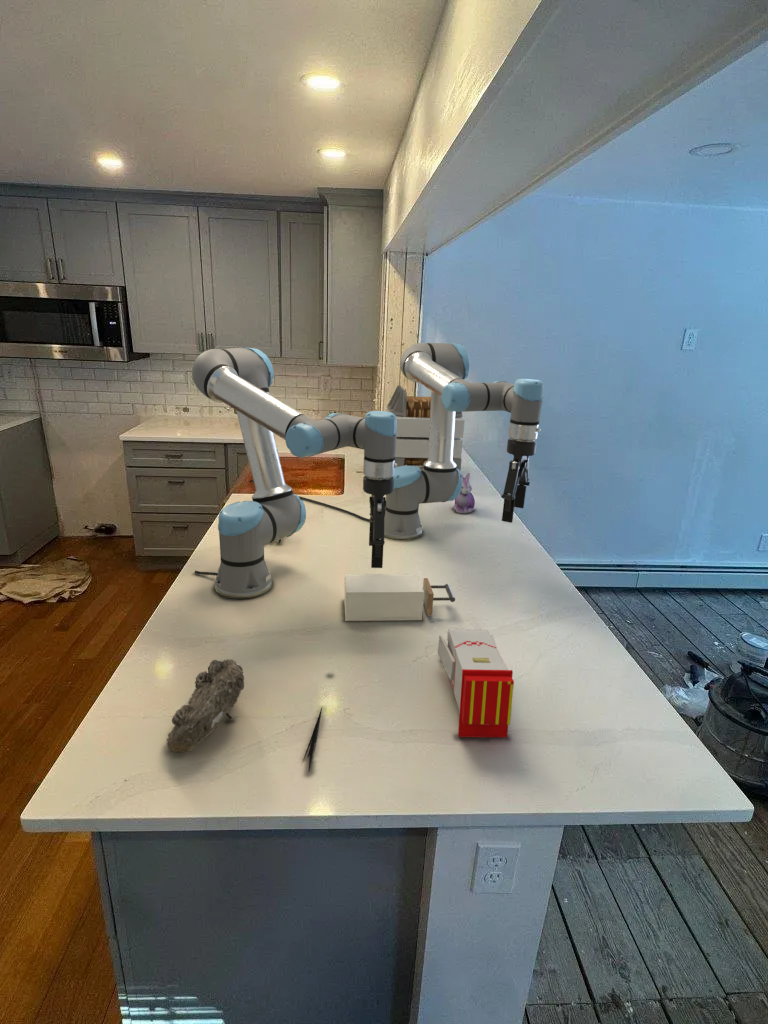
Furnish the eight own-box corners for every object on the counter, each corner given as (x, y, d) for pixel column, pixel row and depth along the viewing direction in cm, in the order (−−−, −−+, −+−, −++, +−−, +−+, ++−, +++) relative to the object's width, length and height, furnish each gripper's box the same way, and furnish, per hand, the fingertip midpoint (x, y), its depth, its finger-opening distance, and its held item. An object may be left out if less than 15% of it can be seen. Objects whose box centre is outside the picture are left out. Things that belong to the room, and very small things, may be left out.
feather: (331, 679, 122) (336, 673, 122) (307, 777, 96) (313, 769, 95) (324, 675, 122) (329, 669, 121) (298, 772, 95) (304, 764, 95)
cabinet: (415, 600, 155) (417, 573, 152) (421, 620, 145) (423, 591, 142) (344, 601, 153) (344, 573, 150) (345, 620, 143) (346, 592, 140)
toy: (488, 613, 130) (523, 677, 101) (484, 667, 133) (517, 744, 104) (435, 612, 130) (455, 676, 101) (432, 666, 133) (451, 743, 103)
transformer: (382, 463, 289) (386, 382, 275) (445, 464, 293) (451, 384, 279) (390, 482, 257) (394, 392, 243) (460, 483, 261) (468, 394, 247)
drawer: (447, 598, 155) (449, 577, 153) (454, 615, 146) (456, 593, 144) (358, 599, 152) (359, 578, 150) (360, 616, 144) (361, 594, 142)
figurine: (461, 515, 220) (465, 478, 215) (447, 507, 229) (450, 471, 224) (481, 512, 224) (485, 476, 219) (466, 504, 233) (469, 469, 228)
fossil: (192, 660, 117) (244, 628, 112) (224, 691, 120) (276, 661, 115) (142, 746, 98) (202, 712, 93) (182, 779, 101) (242, 748, 96)
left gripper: (398, 492, 126) (393, 577, 134) (390, 463, 150) (386, 537, 157) (365, 491, 126) (362, 577, 133) (361, 462, 149) (359, 536, 156)
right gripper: (526, 450, 138) (515, 530, 145) (545, 433, 160) (535, 504, 167) (496, 445, 141) (487, 525, 148) (519, 429, 163) (510, 499, 170)
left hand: (375, 555), depth 145 cm, fingers open, 13 cm apart
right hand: (512, 514), depth 158 cm, fingers open, 13 cm apart
